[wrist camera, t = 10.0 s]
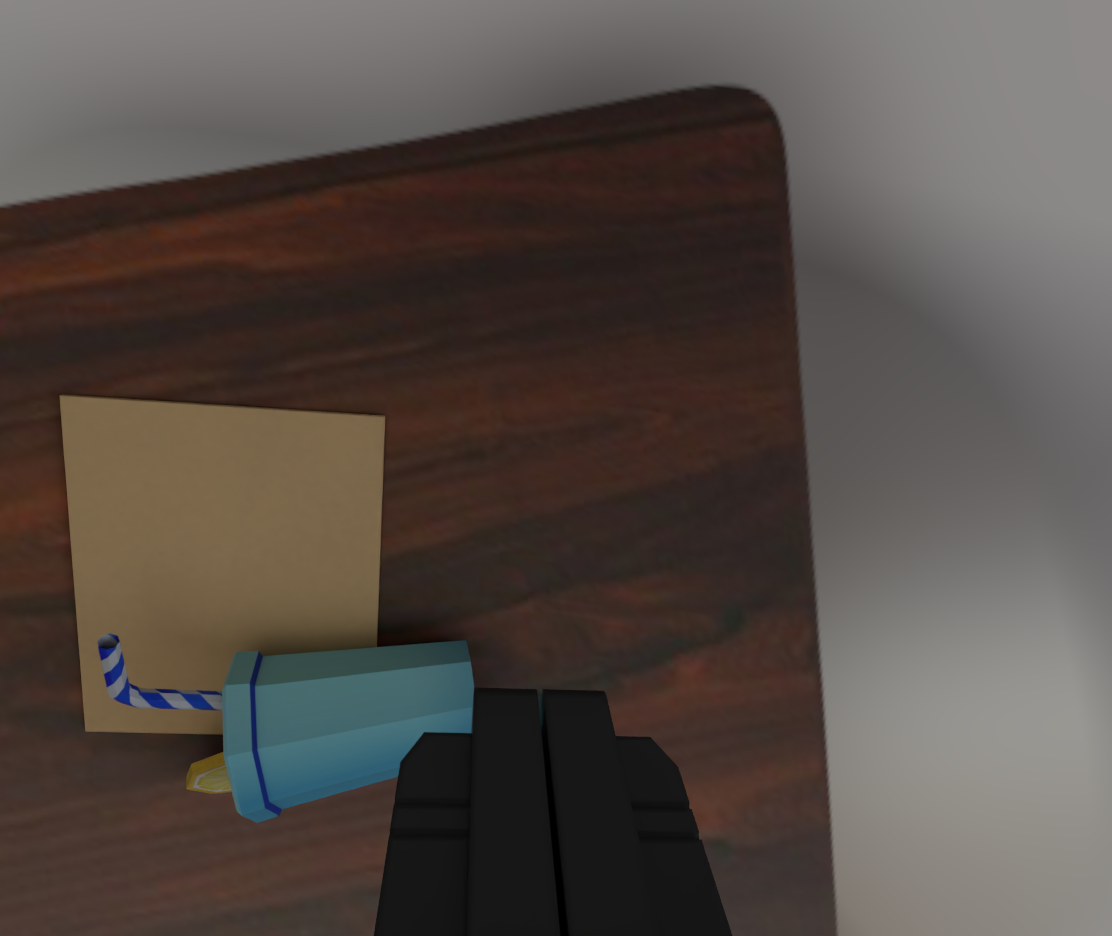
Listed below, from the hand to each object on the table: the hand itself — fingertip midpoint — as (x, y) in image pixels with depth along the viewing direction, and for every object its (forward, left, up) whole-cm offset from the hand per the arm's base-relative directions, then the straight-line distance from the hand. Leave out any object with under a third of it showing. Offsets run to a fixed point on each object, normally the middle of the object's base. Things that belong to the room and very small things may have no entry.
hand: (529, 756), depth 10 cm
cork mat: (+11, +12, -31) cm, 35 cm away
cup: (-1, +16, -28) cm, 32 cm away
